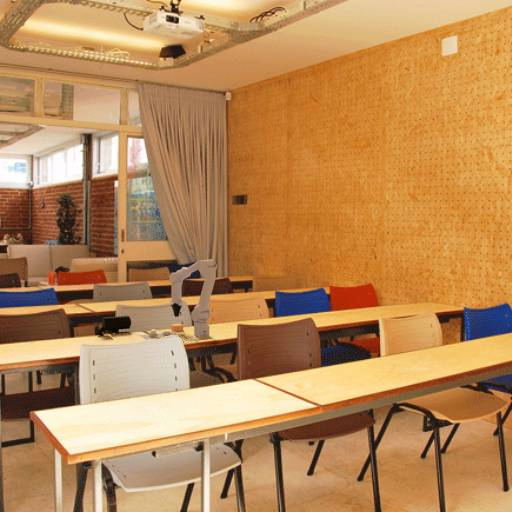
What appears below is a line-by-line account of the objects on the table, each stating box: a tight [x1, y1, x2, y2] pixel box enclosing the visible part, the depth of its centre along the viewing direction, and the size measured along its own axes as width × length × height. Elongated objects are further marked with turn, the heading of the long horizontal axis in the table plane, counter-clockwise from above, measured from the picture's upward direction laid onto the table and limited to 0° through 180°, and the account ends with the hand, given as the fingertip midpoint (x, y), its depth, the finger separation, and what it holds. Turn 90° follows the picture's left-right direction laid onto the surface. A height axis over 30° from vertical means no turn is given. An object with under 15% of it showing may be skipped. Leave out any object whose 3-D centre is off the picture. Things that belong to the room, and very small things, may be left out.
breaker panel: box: [139, 331, 181, 340], centre depth 355 cm, size 12×20×3 cm, turn 118°
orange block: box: [170, 323, 184, 333], centre depth 370 cm, size 5×5×4 cm
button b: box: [149, 329, 157, 334], centre depth 353 cm, size 2×2×2 cm
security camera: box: [97, 315, 132, 337], centre depth 362 cm, size 7×18×10 cm, turn 115°
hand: (176, 316), depth 369 cm, fingers closed
